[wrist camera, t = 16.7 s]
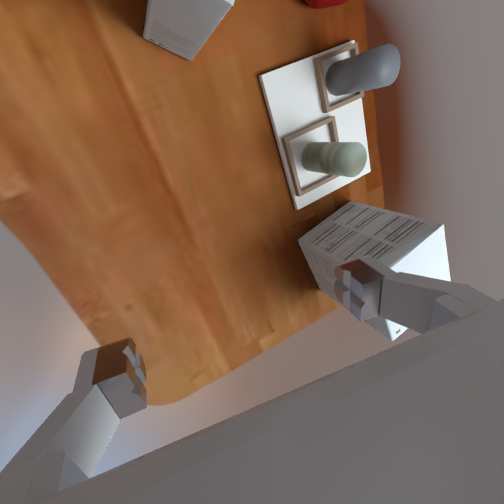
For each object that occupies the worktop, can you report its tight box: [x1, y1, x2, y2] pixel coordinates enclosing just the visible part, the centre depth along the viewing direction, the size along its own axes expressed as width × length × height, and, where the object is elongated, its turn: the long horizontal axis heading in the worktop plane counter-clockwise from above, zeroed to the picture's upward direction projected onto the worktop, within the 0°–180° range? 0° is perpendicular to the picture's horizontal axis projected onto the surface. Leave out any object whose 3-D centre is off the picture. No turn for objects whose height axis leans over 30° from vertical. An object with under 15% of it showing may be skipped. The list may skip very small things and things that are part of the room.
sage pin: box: [301, 142, 367, 177], centre depth 41 cm, size 4×4×9 cm
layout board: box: [259, 40, 400, 210], centre depth 41 cm, size 20×16×10 cm
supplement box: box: [298, 201, 451, 341], centre depth 47 cm, size 13×13×18 cm
